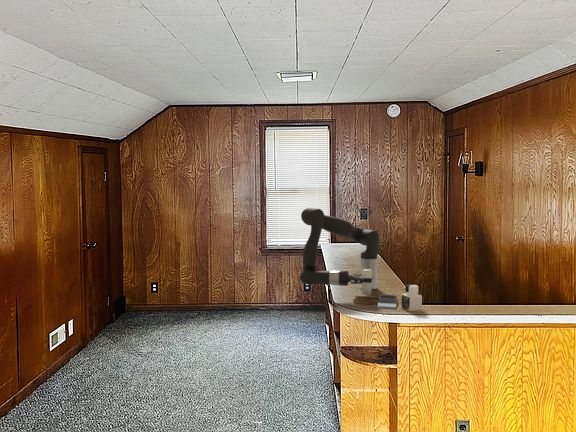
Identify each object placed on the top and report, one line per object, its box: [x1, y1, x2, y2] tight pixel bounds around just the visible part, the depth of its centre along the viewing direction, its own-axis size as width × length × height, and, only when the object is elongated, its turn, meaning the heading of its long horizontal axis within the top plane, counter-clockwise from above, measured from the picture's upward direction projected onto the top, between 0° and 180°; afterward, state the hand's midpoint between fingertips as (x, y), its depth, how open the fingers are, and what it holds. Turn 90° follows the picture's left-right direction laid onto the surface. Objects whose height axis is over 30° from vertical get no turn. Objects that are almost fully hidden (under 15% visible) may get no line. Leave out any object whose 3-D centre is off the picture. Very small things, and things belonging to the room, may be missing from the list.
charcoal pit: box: [378, 294, 398, 304], centre depth 302 cm, size 8×8×3 cm
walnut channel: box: [352, 295, 380, 305], centre depth 305 cm, size 9×12×2 cm
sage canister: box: [361, 269, 373, 295], centre depth 304 cm, size 5×5×12 cm
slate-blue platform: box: [376, 301, 398, 310], centre depth 294 cm, size 8×9×1 cm
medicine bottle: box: [401, 283, 423, 312], centre depth 289 cm, size 7×7×12 cm
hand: (372, 279), depth 304 cm, fingers closed on sage canister, 5 cm apart
